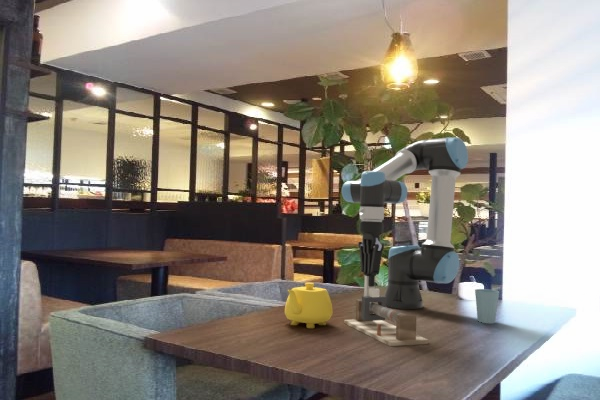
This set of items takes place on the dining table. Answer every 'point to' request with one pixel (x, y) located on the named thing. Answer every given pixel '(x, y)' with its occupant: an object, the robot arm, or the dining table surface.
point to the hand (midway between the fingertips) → (369, 296)
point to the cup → (486, 305)
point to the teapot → (308, 305)
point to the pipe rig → (388, 326)
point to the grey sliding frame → (366, 305)
